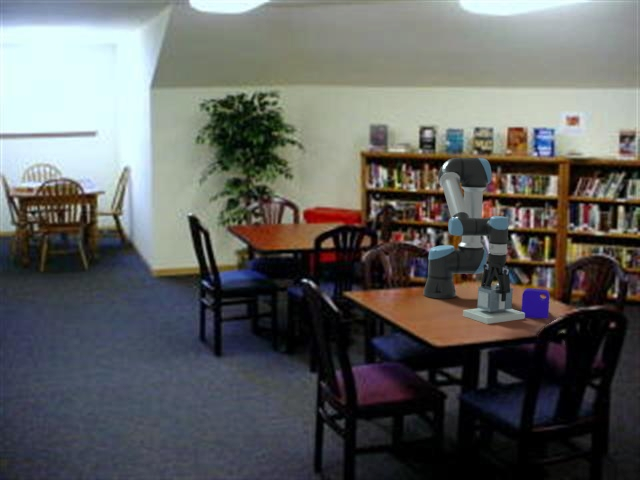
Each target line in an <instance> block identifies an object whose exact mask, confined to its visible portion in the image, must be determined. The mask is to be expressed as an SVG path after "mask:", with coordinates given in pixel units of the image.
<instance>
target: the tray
mask: <svg viewBox="0 0 640 480" xmlns="http://www.w3.org/2000/svg"><path fill="white" fill-rule="evenodd" d="M462 316H463V317H465V318H468V319H471V320H474V321H477V322H480V323H483V324H486V325H489V324H496V323H503V322H510V321H516V320H517V321H518V320H524V319H526V317H525V313H524V312H521V311H519V310H516V309H513V308H512V309H507V310H500V311H492V312H489V311H486V310H483V309H480V308H477V307H476V308H471V309H463V310H462Z"/></svg>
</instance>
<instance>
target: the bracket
mask: <svg viewBox="0 0 640 480" xmlns="http://www.w3.org/2000/svg"><path fill="white" fill-rule="evenodd" d="M541 295H544V296H545V298H543V297H541ZM521 297H522V299H521V311H520V312H524V313H525V318H530V319H531V318H533V319H540V318H547V319H546V320H548V319H549V312H550V298H551V297H550V292H549V290H547V289H543V288H541V289H540V288H530V287H529V288H525V289H524V290H523V293H522V296H521Z"/></svg>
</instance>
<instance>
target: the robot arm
mask: <svg viewBox="0 0 640 480" xmlns="http://www.w3.org/2000/svg"><path fill="white" fill-rule="evenodd" d="M437 178H438V183H439V186H440V187H441V188H442V189H443V194H444V196H445V200H446V203H447V208H448V212H449V214H450V219H449V220H448V222H447V223H448V225H447V227H448V233H449V234H450V235H452V236H458V237H461V242H459V243H458V245H457V248H455V246H454V245H449V244H448V245H446V244H445V245H437V246H434V247H431V248H430V249H429V252H428V258H427V259H428V266H427V279H426V283H425V286H424V288H423V293H422V294H423V296H424V297H428V298H433V299H439V300H440V299H444V300H446V299H453V298H456V297H457V291H456V287H455V284H454V283H455V282H454V275H455V274H456V275H458V274H460V275H461V274H467V275H469V274H471V275H475V274H482V276H481V283H480V287H481V286H490V285H493V284H492V283H493V281H494V278H497V279H496V280H497V281H498V282H497V283H499V287H500V291H501V293H500V294H499V308H498V309H505V301H506V294H507V293H510V287H511V279H510V274H511V269H509V268H508V269H507V268H506V267H505V264H506V263H507V252H508V236H509V218H508V217H507V216H503V215H502V216H501V215H497V216H496V215H493V216H491V217H490V216H489V217H484V218H483V217H482V216H483V215H482V214H483V195H484V191H485V190H486V189H487V185H488V184H490V183H491V181H492V167H491V164H490V162H489V161H488V160H487V159H486V158H482V157H481V158H480V157H453V158H449V159H447V160H446V161H445V162H444V163H443V164H442V166H441V167H440V169H439V171H438V174H437ZM462 190H463V191H462ZM481 237H488V252H487V250H486V249H485V248H484V245H483V243H481ZM487 262H488V263H487ZM503 290H504V291H503Z"/></svg>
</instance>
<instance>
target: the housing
mask: <svg viewBox="0 0 640 480" xmlns="http://www.w3.org/2000/svg"><path fill="white" fill-rule="evenodd" d="M503 291H504V290H503ZM513 291H514V287H511V286H510V293H507V294H506V301H505V309H498V308H499V294H500V293H501V291H500V287H499V282H497V283H495V284H491V285H490V286H481V285H480V286H478V288H477V305H476V309H477V308H480V309H483V310H486V311H489V312H492V311H500V310H507V309H513V307H512V306H513V293H514V292H513Z"/></svg>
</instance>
